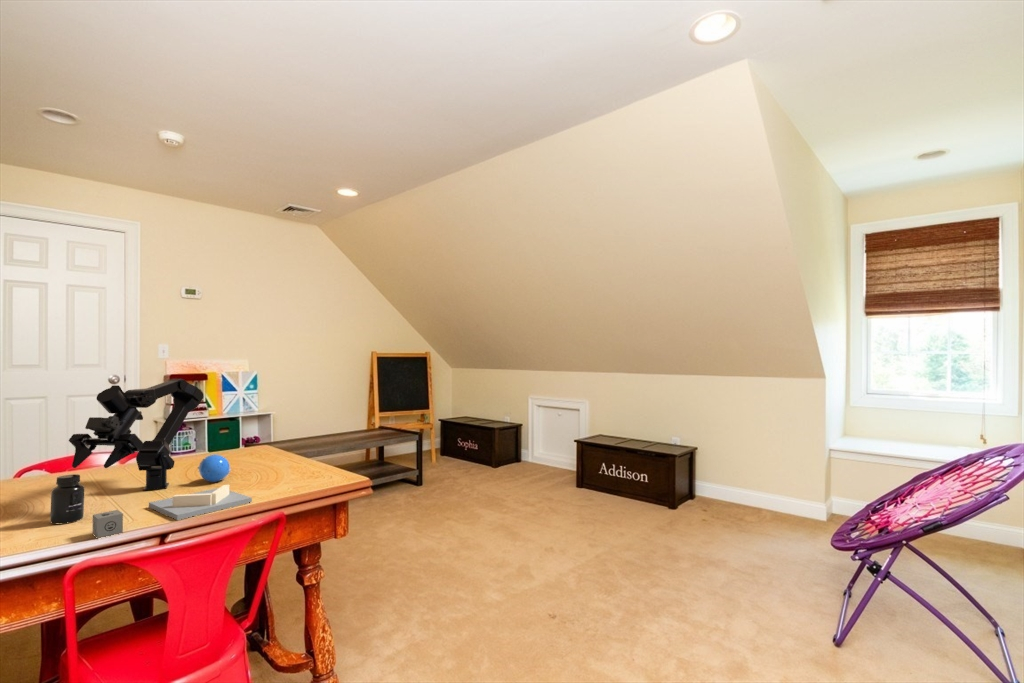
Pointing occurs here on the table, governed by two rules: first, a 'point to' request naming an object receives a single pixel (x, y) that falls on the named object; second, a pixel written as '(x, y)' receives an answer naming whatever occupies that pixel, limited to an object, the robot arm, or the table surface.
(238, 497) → the v cradle
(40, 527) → the table surface
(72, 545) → the table surface
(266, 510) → the table surface
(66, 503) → the supplement bottle
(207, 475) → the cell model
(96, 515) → the dice cube
